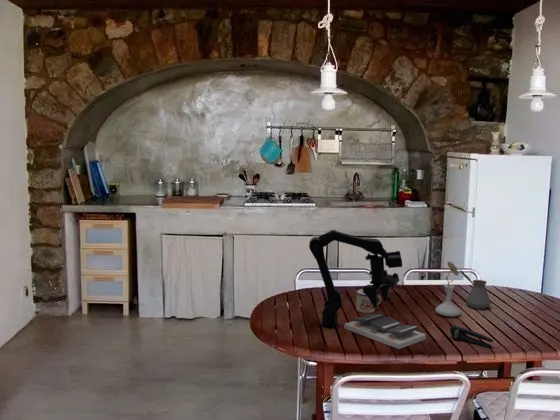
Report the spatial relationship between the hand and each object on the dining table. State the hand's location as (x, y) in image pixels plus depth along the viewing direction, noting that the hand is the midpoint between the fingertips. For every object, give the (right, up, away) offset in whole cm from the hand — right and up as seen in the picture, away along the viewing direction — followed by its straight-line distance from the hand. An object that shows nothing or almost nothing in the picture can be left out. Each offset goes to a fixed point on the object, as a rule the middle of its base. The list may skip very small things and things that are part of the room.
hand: (380, 304), depth 233 cm
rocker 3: (+7, -8, -13) cm, 17 cm away
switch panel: (+1, -11, -5) cm, 13 cm away
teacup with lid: (-1, -7, +25) cm, 26 cm away
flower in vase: (+35, -9, +22) cm, 43 cm away
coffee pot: (+53, -7, +39) cm, 66 cm away
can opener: (+34, -13, -13) cm, 39 cm away
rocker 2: (+1, -7, -6) cm, 9 cm away
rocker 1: (-5, -6, +1) cm, 8 cm away
